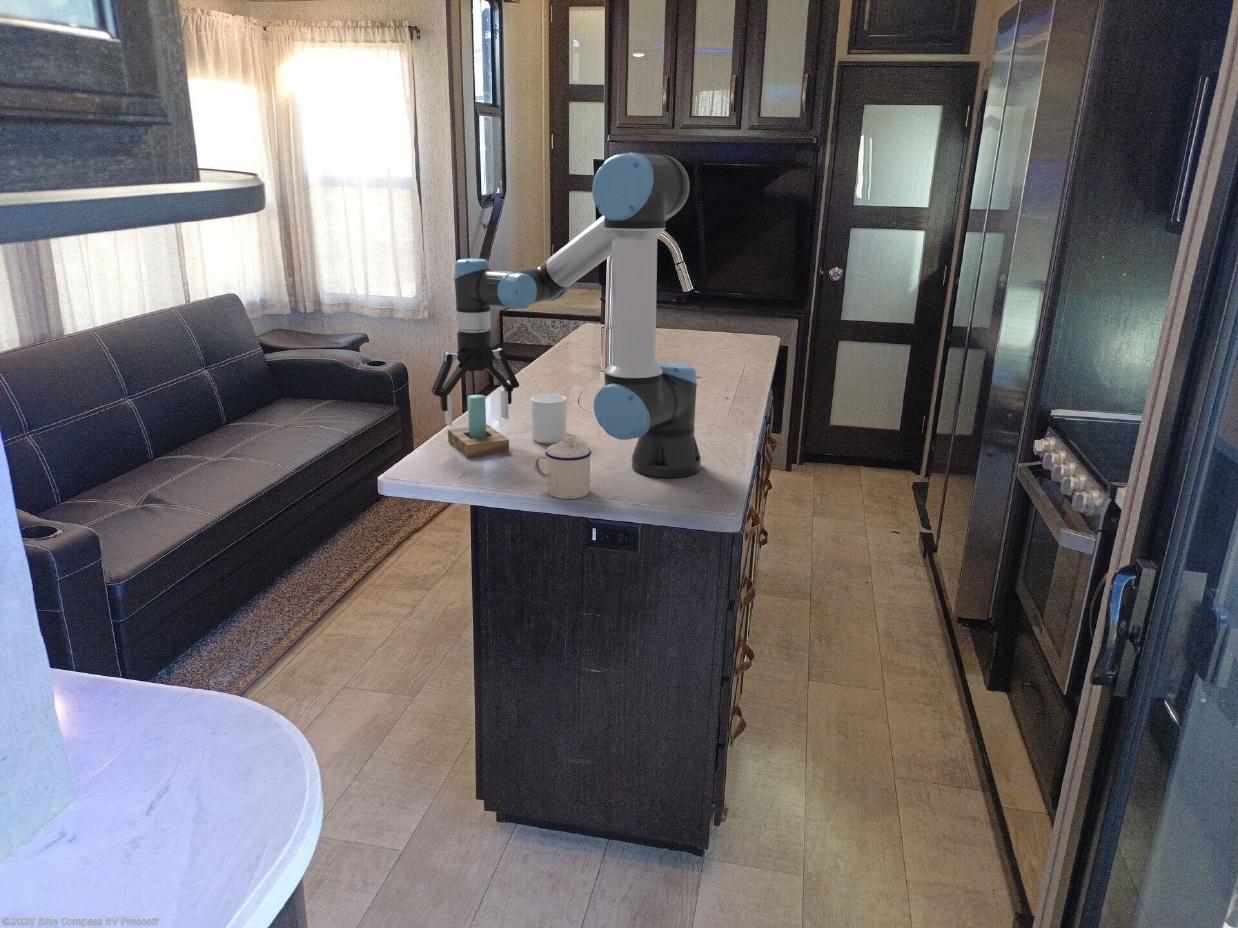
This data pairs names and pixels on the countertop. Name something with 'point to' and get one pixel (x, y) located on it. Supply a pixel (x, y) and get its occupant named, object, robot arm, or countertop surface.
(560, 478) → the teacup with lid
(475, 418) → the peg
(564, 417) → the cup
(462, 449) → the socket
